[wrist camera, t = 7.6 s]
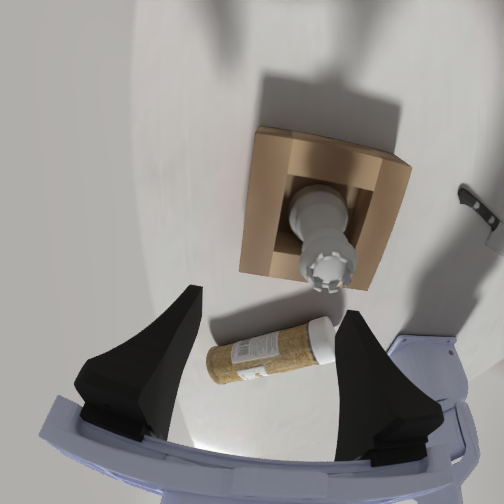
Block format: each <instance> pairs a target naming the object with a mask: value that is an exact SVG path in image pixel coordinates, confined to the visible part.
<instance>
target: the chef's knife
mask: <svg viewBox="0 0 504 504" xmlns="http://www.w3.org/2000/svg"><path fill="white" fill-rule="evenodd" d="M458 196H459V200H460V204H466V205H468V206H470V207H472V208H473V209H474V210H475V211H476V212H478V213H479V214H480V215H481V216H482V217H483V218H484V219H485V221H486V222H487V223H488V224H489V225H490V226H491V227H492V231H491V233H490V235H489V237H488V239H487V241H486V243H485V244H486V245H487V246H489V247H490V248H492V249H493V250H495V251H497V252H498V253H500V254H501V255H503V256H504V224H503V223H502V222H501V221H500V220H499V219H498V218H497V217H496V216H495V215H494V214H493V213H492V212H491V211H490V210H488V209H487V208H486V207H485V206H484V205H483V204H482V203H481V202H480V201H479V200H478V199H477V198H475V197H474V196H473V195H472V194H471V193H470V192H469V191H467V190H465V189H463V188H461V189H460V190H459V192H458Z"/></svg>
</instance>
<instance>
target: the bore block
mask: <svg viewBox="0 0 504 504" xmlns="http://www.w3.org/2000/svg"><path fill="white" fill-rule="evenodd" d="M411 171H412V167H411V166H410V165H408V164H407V163H406V162H404V161H403V160H401V159H400V158H399V157H397V156H396V155H394V154H391V153H388V152H384V151H381V150H377V149H373V148H370V147H366V146H362V145H358V144H354V143H350V142H346V141H341V140H337V139H332V138H328V137H323V136H318V135H313V134H307V133H302V132H296V131H291V130H285V129H278V128H272V127H265V126H260V127H259V128H258V130H257V132H256V133H255V141H254V149H253V157H252V165H251V173H250V181H249V189H248V197H247V205H246V214H245V222H244V231H243V239H242V248H241V257H240V265H239V272H242V273H249V274H255V275H261V276H268V277H274V278H281V279H287V280H294V281H301V282H307V281H306V280H305V278H304V277H303V276H302V275H301V273H300V269H299V265H298V264H299V260H300V256H301V254H302V246H303V241H301V240H300V239H298V237H297V236H296V235H295V234H294V232H293V231H292V230H291V227H290V223H289V219H288V214H287V212H288V207H289V202H290V201H291V199H292V198H293V196H294V195H295V193H297V192H298V191H300V190H301V189H303V188H304V187H306V186H310V185H315V184H320V185H326V186H330V187H332V188H333V189H335V190H336V191H338V192H339V193H340V194H341V196H342V197H343V199H344V200H345V202H346V206H347V211H348V222H347V225H346V229H345V231H344V232H343V234H344V235H345V236H346V238H347V240H348V243H349V244H351V245H352V246H353V248H354V249H355V251H356V253H357V258H358V264H357V267H356V270H355V272H354V273H355V274H353V275H352V276H351V280H352V282H351V283H350V284H349V285H348V286H347V287H345V286H344V285H343V284H341V285H339V286H337V287H343V288H350V289H357V290H365V291H368V288H369V286H370V284H371V282H372V279H373V277H374V275H375V272H376V270H377V267H378V265H379V263H380V260H381V258H382V255H383V253H384V250H385V248H386V245H387V242H388V240H389V237H390V234H391V232H392V229H393V226H394V224H395V221H396V218H397V215H398V212H399V209H400V206H401V203H402V200H403V197H404V194H405V191H406V188H407V184H408V181H409V178H410V174H411ZM308 283H309V282H308Z"/></svg>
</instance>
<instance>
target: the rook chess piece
mask: <svg viewBox="0 0 504 504" xmlns="http://www.w3.org/2000/svg"><path fill="white" fill-rule="evenodd" d="M287 214H288V219H289V223H290V227H291V230H292V231H293V232H294V234H295V235H296V236H297V237H298V239H300V240H301V241H303V246H302V254H301V256H300V260H299V264H298V265H299V269H300V273H301V275H302V276H303V277H304V278H305V280H306V281H307V282H309V283H311V284H313V289H315V290H317V291H319V292H321V290H322V289H323V287H324V288H328V290H329V293H334V292H338V289H337V286H339V285H341V284H343V285H344V286H345V287H347V286H348V285H349V284H350V283H351V282H352V280H351V276H352V275H353V274H355V273H354V272H355V270H356V267H357V264H358V258H357V253H356V251H355V249H354V248H353V246H352V245H351V244H349V243H348V240H347V238H346V236H345V235H344V234H343V232H344V231H345V229H346V225H347V222H348V211H347V206H346V202H345V200H344V199H343V197H342V196H341V194H340V193H339V192H338V191H336V190H335V189H333V188H332V187H330V186H326V185H320V184H315V185H310V186H306V187H304V188H303V189H301V190H300V191H298V192H297V193H295V195H294V196H293V198H292V199H291V201H290V202H289V207H288V212H287Z"/></svg>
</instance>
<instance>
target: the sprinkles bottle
mask: <svg viewBox="0 0 504 504" xmlns="http://www.w3.org/2000/svg"><path fill="white" fill-rule="evenodd" d="M335 335H336V333H335V330H334V327H333V325H332V322H331V320H330V319H329V318H328V317H326V316H325V317H321V318H317V319H314V320H311V321H310V322H309V323H308V322H307V323H305V324H304V325H300V326H297V327H293V328H289V329H286V330H280V331H276V332H273V333H269V334H265V335H261V336H258V337H254V338H250V339H246V340H242V341H238V342H236V343H233V344H228V345H225V346H220V347H219V346H214V347H212V348H211V349H210V350H209V351H208V353H207V358H206V366H207V370H208V373H209V375H210V377H211V378H212V380H213V381H214V382H216V383H217V384H226V383H229V382H235V381H241V380H249V379H255V378H259V377H264V376H269V375H274V374H279V373H283V372H287V371H290V370H294V369H298V368H303V367H307V366H311V365H314V364H316V365H319V364H321V365H323V364H327V363H331V362H334V361H335Z"/></svg>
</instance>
